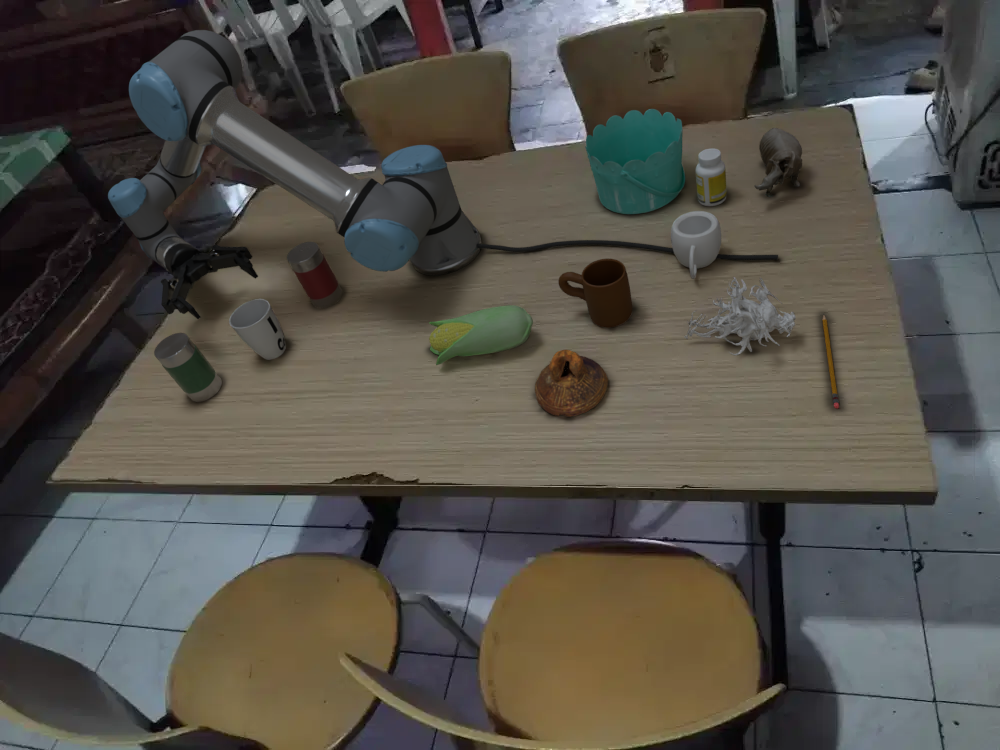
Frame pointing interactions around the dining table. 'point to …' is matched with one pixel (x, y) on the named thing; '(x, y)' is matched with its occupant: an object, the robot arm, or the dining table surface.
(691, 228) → the mug
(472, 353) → the corn
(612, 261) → the mug
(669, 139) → the bucket
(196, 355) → the green can
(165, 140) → the robot arm
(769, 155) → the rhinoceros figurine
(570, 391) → the bell
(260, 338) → the cup
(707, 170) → the supplement bottle
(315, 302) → the maroon can
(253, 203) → the dining table surface
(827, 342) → the pencil
